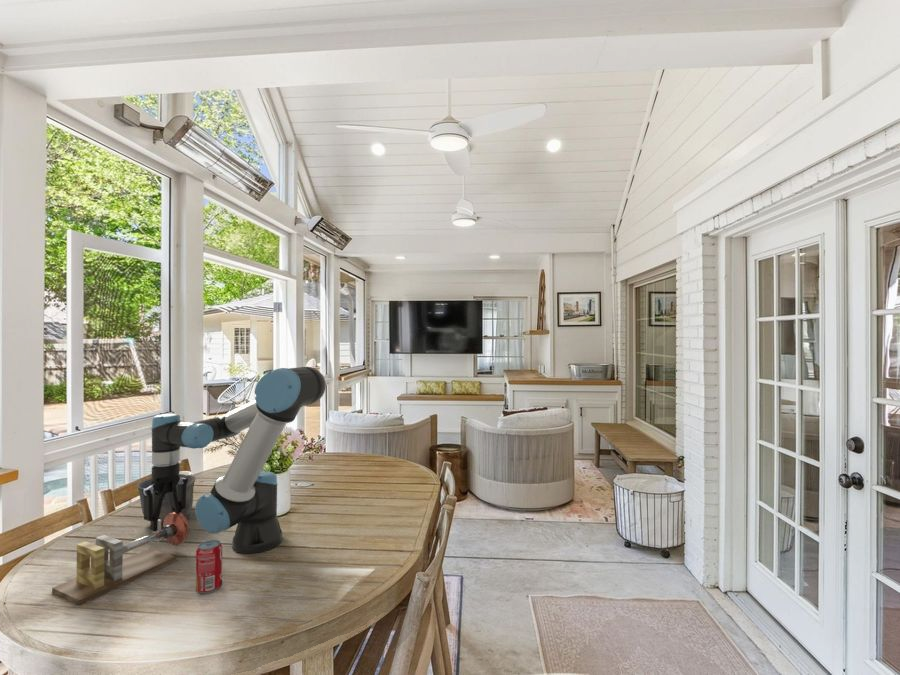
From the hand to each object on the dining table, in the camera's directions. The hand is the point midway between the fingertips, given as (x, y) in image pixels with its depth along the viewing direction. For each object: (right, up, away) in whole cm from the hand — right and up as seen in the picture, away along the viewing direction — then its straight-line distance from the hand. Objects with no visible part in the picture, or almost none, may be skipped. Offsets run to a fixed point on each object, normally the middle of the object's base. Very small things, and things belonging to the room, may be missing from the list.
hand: (165, 537), depth 142 cm
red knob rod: (0, -2, -7) cm, 8 cm away
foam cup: (-18, -5, +36) cm, 41 cm away
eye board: (-3, -4, -15) cm, 16 cm away
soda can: (+26, -4, -22) cm, 34 cm away
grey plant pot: (-14, -4, +22) cm, 26 cm away
